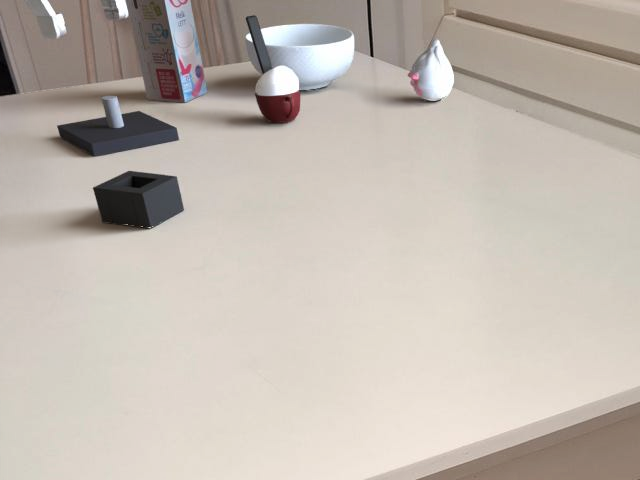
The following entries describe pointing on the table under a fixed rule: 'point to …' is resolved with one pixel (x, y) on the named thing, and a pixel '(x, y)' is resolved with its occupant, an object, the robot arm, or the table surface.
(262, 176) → the table surface
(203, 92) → the milk carton
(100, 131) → the base pad
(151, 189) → the black box
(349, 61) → the cereal bowl
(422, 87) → the figurine
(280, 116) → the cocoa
